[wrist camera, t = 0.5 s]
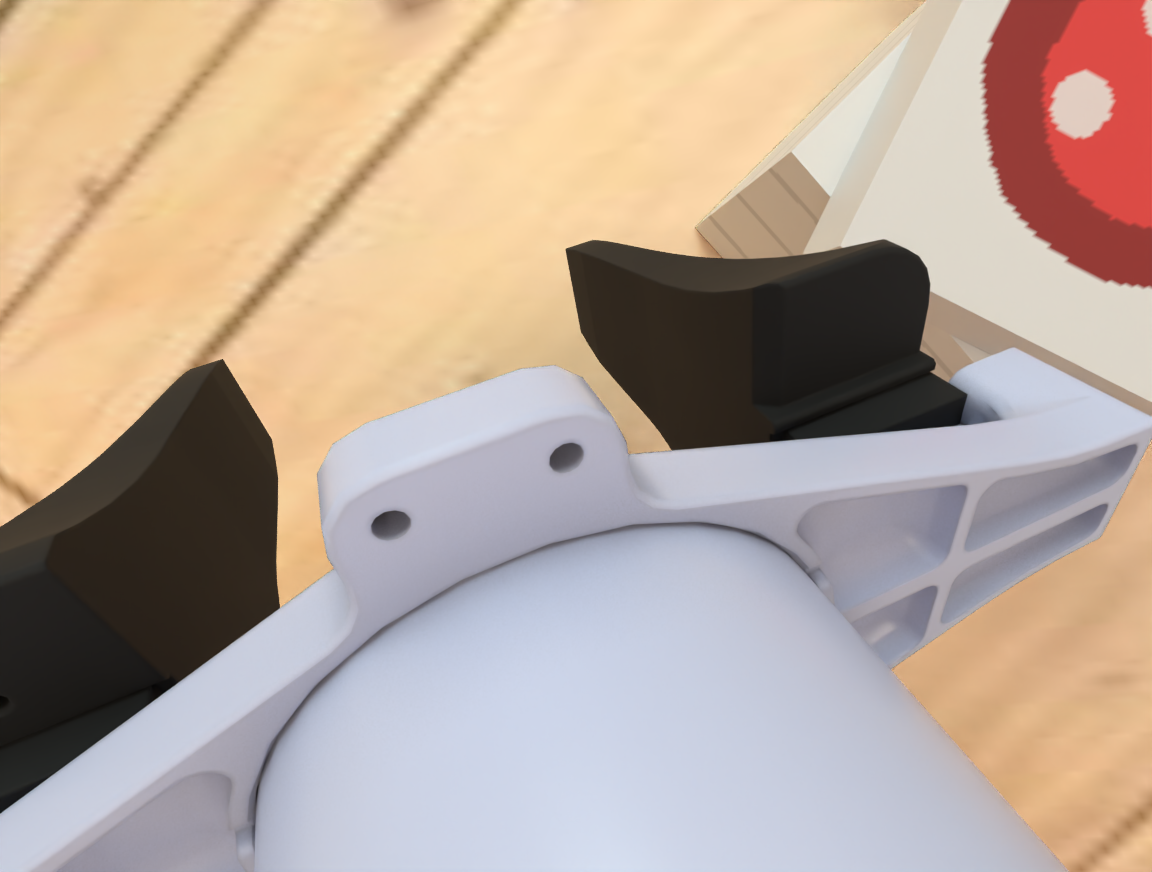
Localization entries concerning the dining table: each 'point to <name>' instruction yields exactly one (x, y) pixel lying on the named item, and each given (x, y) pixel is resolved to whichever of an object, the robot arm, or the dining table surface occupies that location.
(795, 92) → the dining table surface
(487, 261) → the dining table surface
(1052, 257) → the pizza boxes
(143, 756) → the robot arm
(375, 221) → the dining table surface
